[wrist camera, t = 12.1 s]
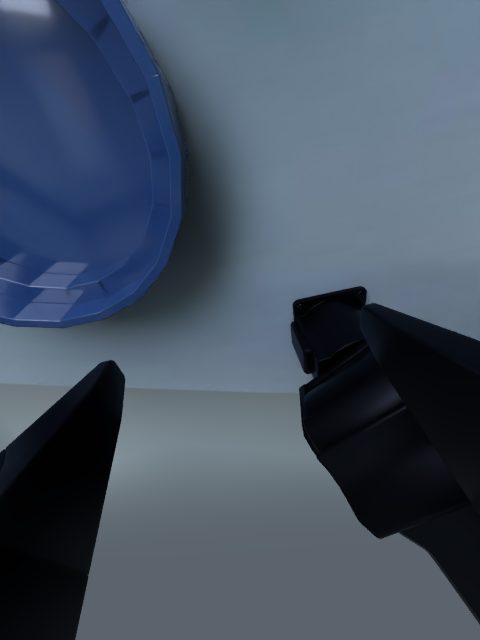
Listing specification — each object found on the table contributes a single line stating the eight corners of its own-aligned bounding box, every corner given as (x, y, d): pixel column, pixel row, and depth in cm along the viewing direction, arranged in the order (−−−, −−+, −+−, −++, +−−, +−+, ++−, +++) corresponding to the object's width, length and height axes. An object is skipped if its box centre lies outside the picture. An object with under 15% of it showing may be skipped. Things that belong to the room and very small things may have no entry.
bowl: (100, -182, 9) (33, -382, 6) (217, 266, 20) (219, 294, 16) (-349, -59, 10) (-670, -172, 6) (-2, 315, 21) (-47, 353, 17)
